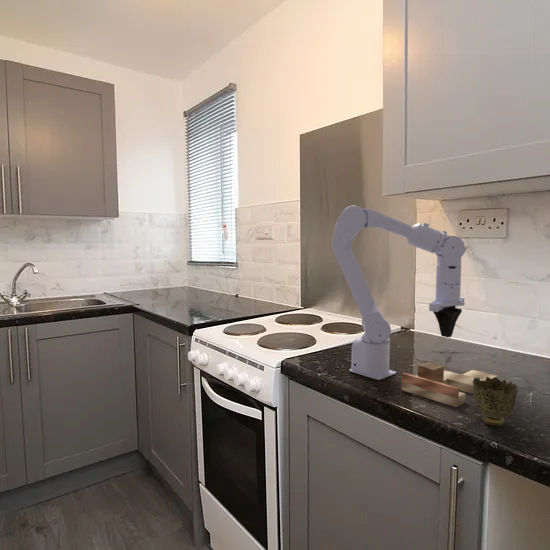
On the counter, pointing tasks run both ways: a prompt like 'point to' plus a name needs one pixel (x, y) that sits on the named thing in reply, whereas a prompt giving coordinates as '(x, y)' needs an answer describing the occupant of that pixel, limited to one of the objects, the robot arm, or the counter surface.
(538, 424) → the counter surface
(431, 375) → the walnut cube
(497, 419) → the cup
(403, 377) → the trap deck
